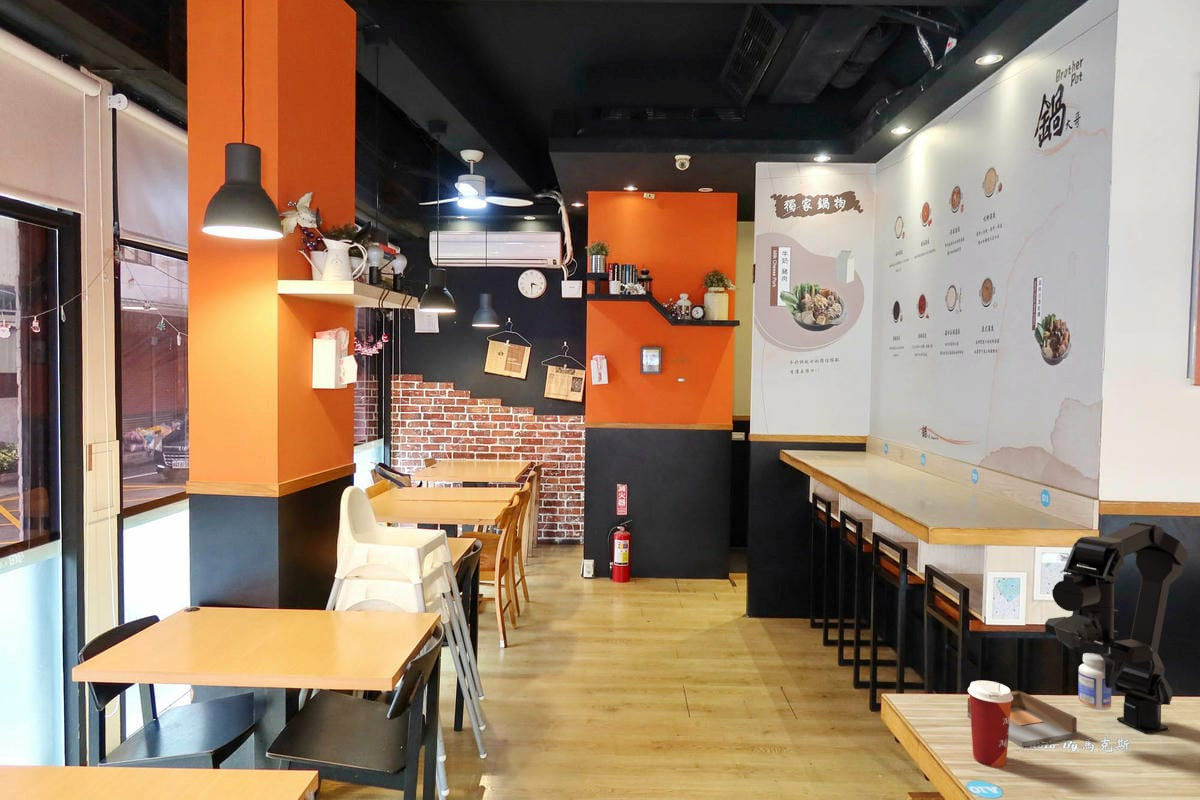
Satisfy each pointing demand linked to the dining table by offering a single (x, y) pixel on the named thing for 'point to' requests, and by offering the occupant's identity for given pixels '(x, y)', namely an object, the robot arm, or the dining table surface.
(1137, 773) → the dining table surface
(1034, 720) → the corner arena
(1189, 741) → the dining table surface
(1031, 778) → the dining table surface
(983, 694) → the paper cup
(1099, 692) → the pill bottle
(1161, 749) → the dining table surface
